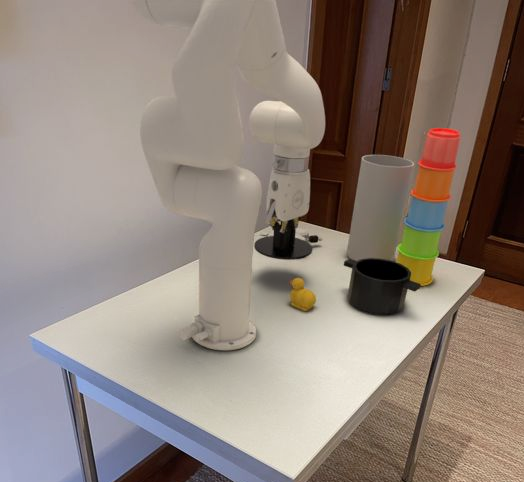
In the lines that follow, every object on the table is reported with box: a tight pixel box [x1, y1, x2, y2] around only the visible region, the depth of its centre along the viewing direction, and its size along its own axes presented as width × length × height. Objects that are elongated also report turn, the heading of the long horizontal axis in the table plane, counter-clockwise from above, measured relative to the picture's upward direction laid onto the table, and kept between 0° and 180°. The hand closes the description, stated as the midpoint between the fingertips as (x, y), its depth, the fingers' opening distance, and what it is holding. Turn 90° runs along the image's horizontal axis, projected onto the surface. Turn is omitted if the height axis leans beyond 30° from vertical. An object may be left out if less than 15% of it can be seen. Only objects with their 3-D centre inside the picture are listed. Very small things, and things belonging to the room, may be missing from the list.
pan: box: [343, 258, 422, 317], centre depth 116 cm, size 12×18×8 cm
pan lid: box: [253, 225, 313, 261], centre depth 120 cm, size 13×13×6 cm
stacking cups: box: [396, 127, 462, 287], centre depth 122 cm, size 10×10×35 cm
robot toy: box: [259, 227, 323, 244], centre depth 142 cm, size 12×4×15 cm
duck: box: [289, 277, 317, 312], centre depth 113 cm, size 7×4×6 cm, turn 49°
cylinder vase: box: [346, 154, 415, 261], centre depth 134 cm, size 12×12×25 cm
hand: (283, 245), depth 121 cm, fingers closed on pan lid, 2 cm apart
